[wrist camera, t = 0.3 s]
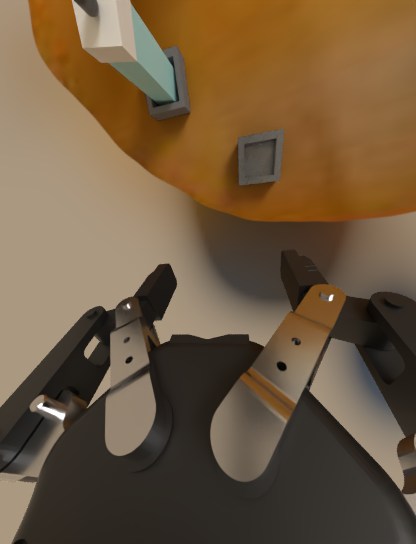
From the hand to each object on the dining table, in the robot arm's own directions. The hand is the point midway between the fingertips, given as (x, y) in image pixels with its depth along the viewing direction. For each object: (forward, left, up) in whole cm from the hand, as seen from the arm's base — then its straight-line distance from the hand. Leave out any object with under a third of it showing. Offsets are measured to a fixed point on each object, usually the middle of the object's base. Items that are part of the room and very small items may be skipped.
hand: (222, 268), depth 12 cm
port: (-8, +4, -27) cm, 29 cm away
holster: (-20, -11, -27) cm, 36 cm away
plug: (-20, -11, -27) cm, 36 cm away
